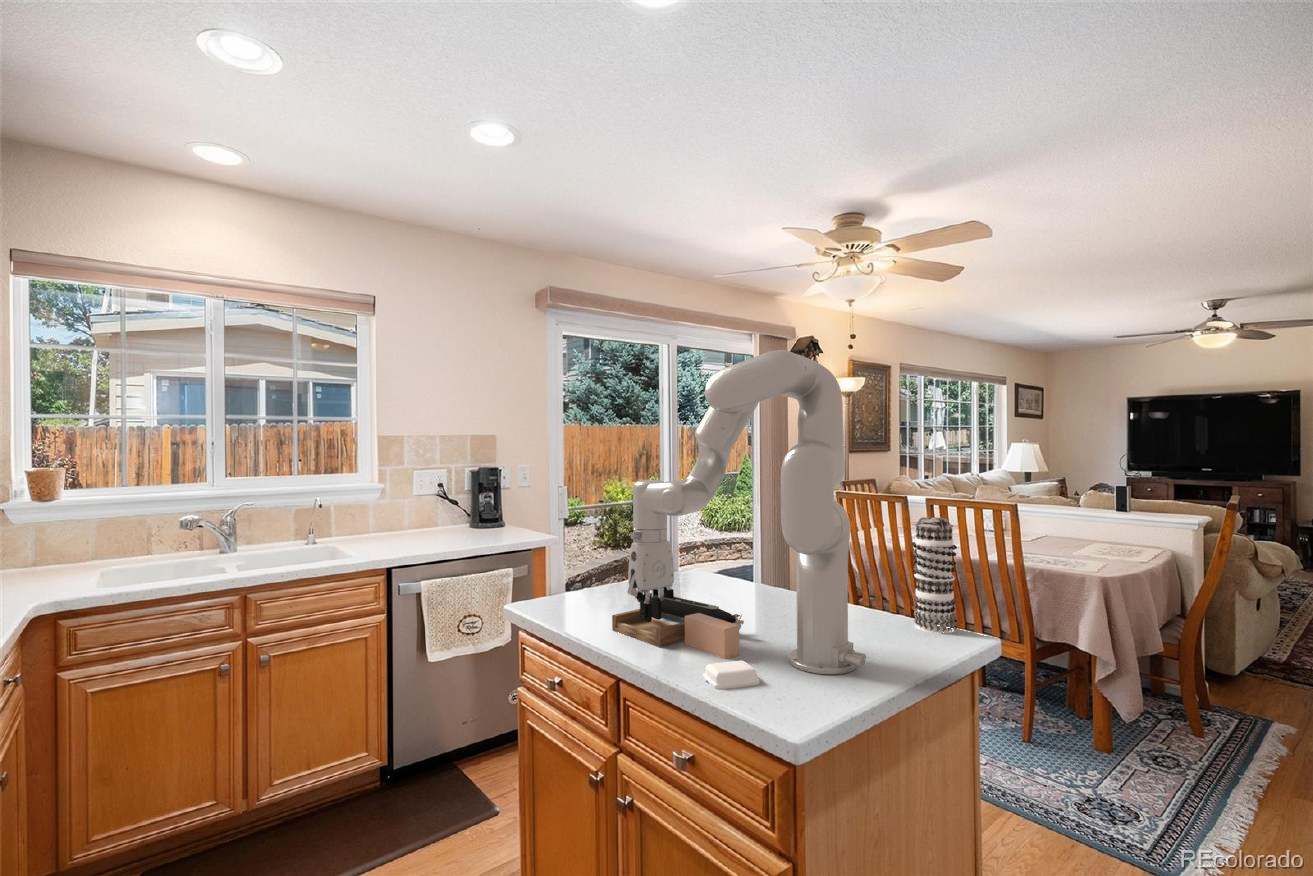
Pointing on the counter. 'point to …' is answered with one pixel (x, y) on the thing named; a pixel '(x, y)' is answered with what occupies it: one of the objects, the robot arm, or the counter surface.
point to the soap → (730, 675)
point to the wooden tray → (648, 629)
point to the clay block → (712, 635)
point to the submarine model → (694, 608)
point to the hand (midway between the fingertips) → (650, 618)
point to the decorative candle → (934, 575)
